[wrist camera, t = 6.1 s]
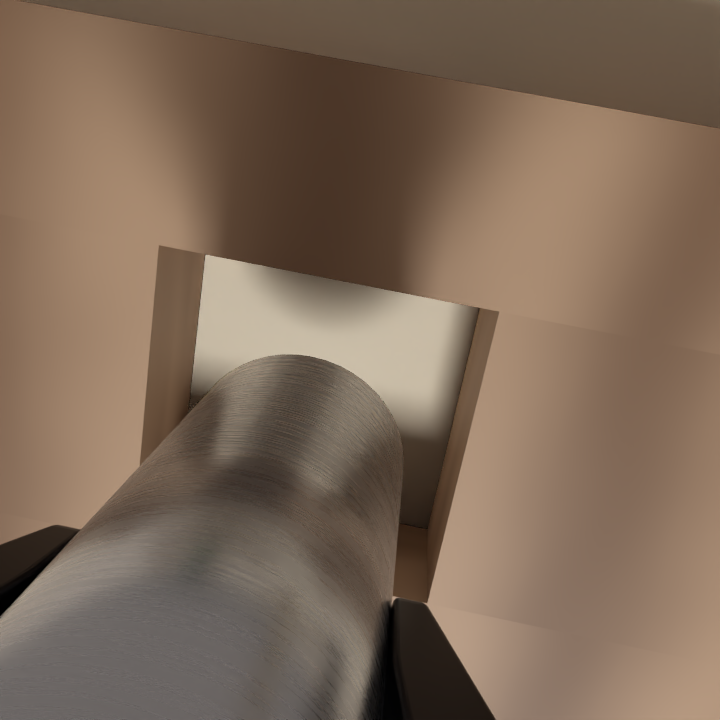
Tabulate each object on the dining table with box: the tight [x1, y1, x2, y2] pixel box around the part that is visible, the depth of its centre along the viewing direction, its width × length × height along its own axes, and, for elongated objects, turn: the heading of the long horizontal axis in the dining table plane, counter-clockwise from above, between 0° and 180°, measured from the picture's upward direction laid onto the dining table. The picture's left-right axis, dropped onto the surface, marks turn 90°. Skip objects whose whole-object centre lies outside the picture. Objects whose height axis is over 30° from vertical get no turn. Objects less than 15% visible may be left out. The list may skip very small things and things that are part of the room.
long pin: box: [0, 355, 403, 720], centre depth 8 cm, size 4×4×10 cm
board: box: [0, 0, 720, 720], centre depth 15 cm, size 20×14×3 cm
